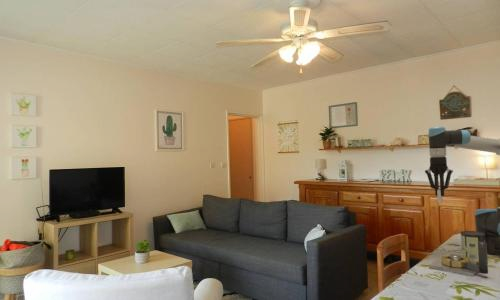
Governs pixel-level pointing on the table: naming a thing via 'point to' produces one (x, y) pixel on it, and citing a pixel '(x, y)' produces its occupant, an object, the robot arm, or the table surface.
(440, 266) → the flange plate
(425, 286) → the table surface
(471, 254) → the coffee can
